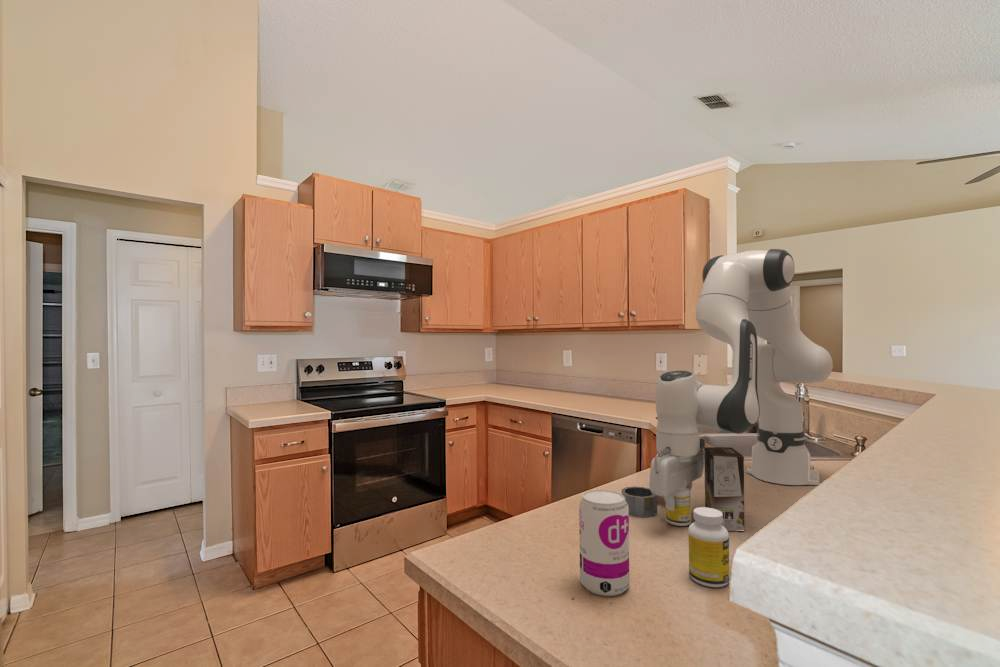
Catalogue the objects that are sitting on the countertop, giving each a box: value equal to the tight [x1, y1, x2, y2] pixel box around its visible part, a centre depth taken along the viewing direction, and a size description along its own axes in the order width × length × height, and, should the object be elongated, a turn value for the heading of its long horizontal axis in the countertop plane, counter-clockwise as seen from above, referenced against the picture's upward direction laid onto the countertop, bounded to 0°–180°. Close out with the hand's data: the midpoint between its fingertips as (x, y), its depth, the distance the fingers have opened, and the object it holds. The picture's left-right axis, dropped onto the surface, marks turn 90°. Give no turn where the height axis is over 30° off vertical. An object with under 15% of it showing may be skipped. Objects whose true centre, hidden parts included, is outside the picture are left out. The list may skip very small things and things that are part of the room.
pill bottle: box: [687, 506, 730, 588], centre depth 82 cm, size 6×6×12 cm
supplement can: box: [578, 489, 631, 597], centre depth 81 cm, size 8×8×15 cm
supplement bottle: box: [664, 480, 692, 527], centre depth 107 cm, size 5×5×10 cm
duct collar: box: [621, 486, 658, 518], centre depth 114 cm, size 8×8×4 cm
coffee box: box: [703, 446, 745, 532], centre depth 106 cm, size 9×6×16 cm
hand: (678, 505), depth 107 cm, fingers closed on supplement bottle, 5 cm apart
